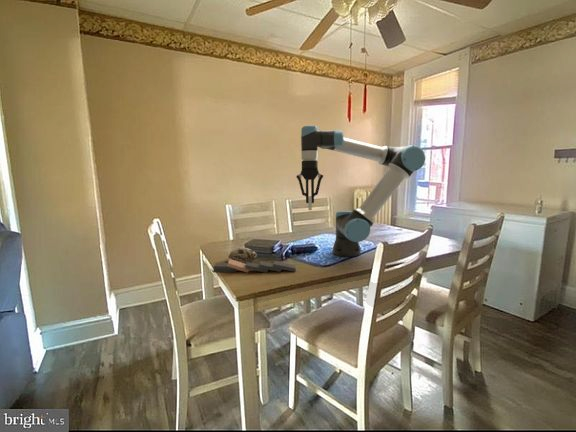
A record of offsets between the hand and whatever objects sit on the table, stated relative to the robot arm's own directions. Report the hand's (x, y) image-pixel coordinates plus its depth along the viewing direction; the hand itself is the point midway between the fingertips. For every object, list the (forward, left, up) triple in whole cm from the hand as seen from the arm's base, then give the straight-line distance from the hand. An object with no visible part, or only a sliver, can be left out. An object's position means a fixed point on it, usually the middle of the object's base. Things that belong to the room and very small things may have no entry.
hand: (310, 209), depth 148 cm
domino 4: (+20, +12, -26) cm, 35 cm away
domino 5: (+14, +11, -26) cm, 31 cm away
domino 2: (+35, +10, -26) cm, 45 cm away
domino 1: (+35, +11, -25) cm, 44 cm away
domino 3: (+29, +12, -26) cm, 40 cm away
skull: (+34, -1, -27) cm, 43 cm away
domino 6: (+8, +11, -26) cm, 29 cm away
